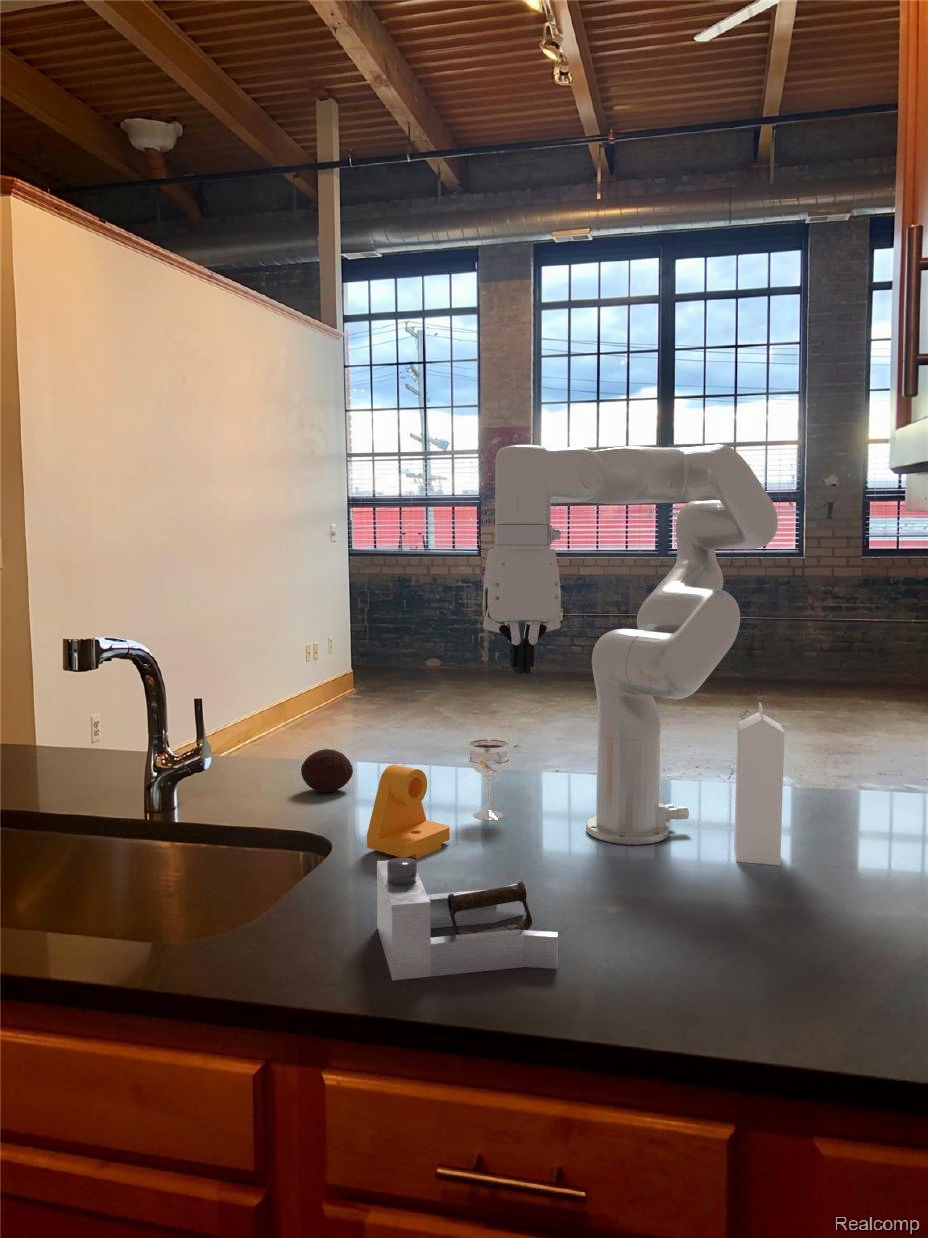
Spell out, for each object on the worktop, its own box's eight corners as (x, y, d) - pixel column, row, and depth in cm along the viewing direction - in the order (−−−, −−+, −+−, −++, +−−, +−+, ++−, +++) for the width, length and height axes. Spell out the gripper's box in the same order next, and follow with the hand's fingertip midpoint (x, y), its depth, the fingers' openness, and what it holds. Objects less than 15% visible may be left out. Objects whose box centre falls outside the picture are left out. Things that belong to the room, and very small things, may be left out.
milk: (735, 862, 128) (739, 708, 126) (733, 848, 134) (736, 700, 132) (781, 866, 126) (785, 710, 124) (777, 851, 132) (781, 702, 130)
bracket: (404, 864, 127) (403, 780, 126) (367, 853, 131) (366, 772, 130) (452, 844, 135) (452, 765, 134) (415, 834, 140) (415, 758, 139)
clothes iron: (549, 966, 98) (532, 886, 96) (452, 1004, 96) (432, 922, 93) (526, 933, 105) (510, 857, 102) (434, 968, 102) (415, 890, 100)
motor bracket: (521, 911, 111) (521, 831, 110) (560, 968, 96) (561, 877, 95) (376, 923, 107) (375, 841, 106) (393, 986, 92) (393, 890, 91)
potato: (301, 786, 167) (300, 745, 166) (352, 784, 168) (351, 743, 168) (301, 799, 159) (300, 755, 158) (354, 796, 160) (354, 753, 160)
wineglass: (465, 821, 146) (465, 747, 145) (469, 808, 153) (470, 738, 152) (507, 822, 146) (508, 749, 144) (510, 810, 152) (510, 739, 151)
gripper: (566, 538, 128) (564, 667, 129) (462, 538, 125) (462, 670, 126) (584, 538, 121) (582, 675, 122) (475, 538, 117) (474, 678, 119)
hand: (521, 672), depth 124 cm, fingers closed
